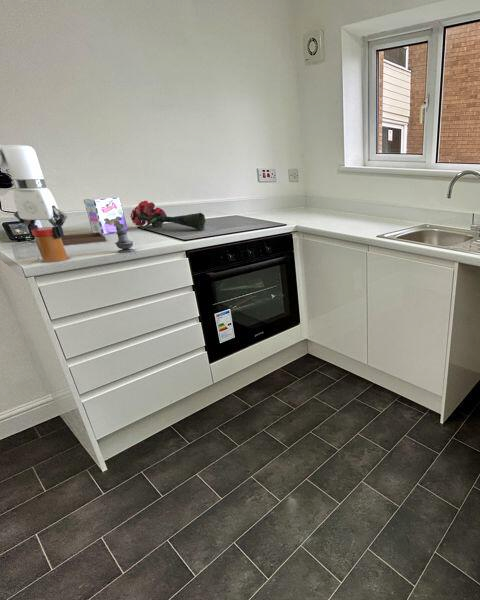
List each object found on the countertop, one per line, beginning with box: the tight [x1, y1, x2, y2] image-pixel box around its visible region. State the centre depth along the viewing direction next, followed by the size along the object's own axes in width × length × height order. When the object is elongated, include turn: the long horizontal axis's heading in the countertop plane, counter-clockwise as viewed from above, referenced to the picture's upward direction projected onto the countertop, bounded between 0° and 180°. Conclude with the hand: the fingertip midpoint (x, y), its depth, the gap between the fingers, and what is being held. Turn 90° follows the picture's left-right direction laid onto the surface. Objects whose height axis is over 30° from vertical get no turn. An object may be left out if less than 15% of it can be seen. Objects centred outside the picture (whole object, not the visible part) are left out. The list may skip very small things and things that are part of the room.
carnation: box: [130, 200, 206, 231], centre depth 186 cm, size 16×18×35 cm
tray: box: [61, 232, 107, 246], centre depth 154 cm, size 15×13×2 cm
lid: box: [31, 226, 54, 236], centre depth 123 cm, size 7×7×2 cm
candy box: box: [83, 196, 128, 236], centre depth 171 cm, size 14×6×16 cm, turn 171°
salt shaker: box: [114, 222, 135, 254], centre depth 139 cm, size 6×6×12 cm
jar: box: [34, 235, 69, 263], centre depth 124 cm, size 7×7×11 cm
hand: (48, 237), depth 123 cm, fingers closed on lid, 7 cm apart
